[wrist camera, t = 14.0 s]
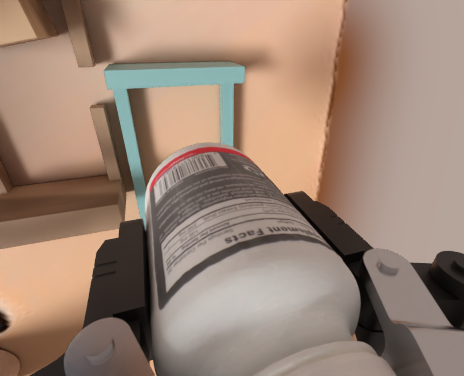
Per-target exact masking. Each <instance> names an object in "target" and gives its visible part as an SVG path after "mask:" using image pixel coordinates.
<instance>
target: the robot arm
mask: <svg viewBox="0 0 464 376" xmlns="http://www.w3.org/2000/svg"><path fill="white" fill-rule="evenodd" d="M284 196H285V197H286V198H287V199H288V200H289V201H290V203H291V204H292V205H293V206H294V207H295V208H296V209H297V210H298V212H300V213H301V215H302V216H303V217H304V218H305V219H306V220H307V221H308V222H309V223H310V225H311V226H312V227H313V228H314V229H315V230H316V231H317V232H318V234H319V235H320V236H321V237H322V238H323V239H324V240H325V241H326V242H327V243H328V244H329V245H330V246H331V248H332V249H333V250H334V251H335V252H336V253H337V254H338V255H339V256H340V257H341V258H342V260H343V262H344V263H345V264H346V266H347V267H348V268H349V270H350V271H351V273H352V274H353V276H354V278H355V280H356V282H357V285H358V288H359V292H360V301H361V306H360V315H359V320H358V324H357V327H356V330H355V332H354V334H353V336H352V338H353V339H354V340H355V341H360V342H364V343H367V344H368V345H370V346H371V347H372V348H373V349H374V350H375V351H376V353H377V355H378V356H379V357H381V358H383V359H384V360H386V361H387V362H388V364H389V365H390V367H391V368H392V370H393V371H394V373H395V374H396V375H397V376H464V254H462V253H458V252H453V251H443V252H440V253H438V254H437V256H436V258H435V260H434V262H433V263H432V264H429V263H409V262H408V261H407V260H406V259H405V258H403V257H402V256H400V255H399V254H397V253H394V252H392V251H389V250H385V249H374V248H372V247H371V246H370V245H369V244H368V243H367V242H366V241H365V240H363V238H362V237H360V236H359V235H358V234H357V233H356V232H355V231H354V230H353V229H352V228H351V227H349V225H347V224H345V223H344V221H343V220H342V219H341V218H340V217H337V215H336V214H335V213H334V212H333V211H332V210H331V209H330V208H329V207H327V206H325V205H323V204H321V203H319V202H317V201H313V200H312V199H311V198H310V197H309V196H308V195H307V194H306V193H305V192H303V191H300V192H294V193H288V194H284ZM146 243H147V242H146V230H145V226H144V221H143V219H136V220H131V221H125V222H120V226H119V238H114V239H109V240H105V241H104V243H103V244H102V245H101V247H100V248H99V250H98V251H97V253H96V258H95V264H94V266H95V268H94V270H93V275H92V277H93V279H92V281H91V286H90V292H89V298H88V303H87V309H86V315H85V320H84V325H83V328H82V330H81V331H80V332H79V333H78V334H77V335H76V336H75V337H74V339H73V340H72V341H71V343H70V344H69V346H68V348H67V350H66V352H65V353H64V354H63V355H62V356H61V357H59V358H58V359H57V360H56V361H54V362H52V363H51V364H49V365H48V366H46V367H44V368H42V369H41V370H39V371H37V372H35V373H34V374H32V375H30V376H155V374H154V372H153V371H152V369H151V367H150V360H153V354H152V346H151V324H150V288H149V267H148V257H147V244H146ZM19 370H20V362H19V360H18V359H17V357H16V356H14V355H13V354H11V353H9V352H7V351H4V350H0V376H18V373H19Z"/></svg>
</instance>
